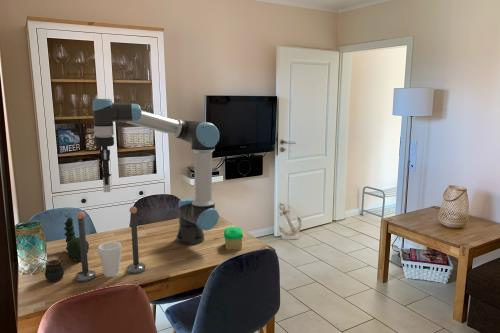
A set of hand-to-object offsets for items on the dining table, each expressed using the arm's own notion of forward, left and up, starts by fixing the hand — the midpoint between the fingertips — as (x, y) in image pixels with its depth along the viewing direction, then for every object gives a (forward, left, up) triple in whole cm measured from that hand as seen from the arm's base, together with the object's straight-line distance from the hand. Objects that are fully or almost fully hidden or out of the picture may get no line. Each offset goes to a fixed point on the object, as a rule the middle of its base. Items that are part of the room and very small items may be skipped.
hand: (107, 191), depth 161 cm
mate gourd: (+22, +7, -37) cm, 44 cm away
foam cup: (0, +1, -37) cm, 37 cm away
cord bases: (0, +1, -37) cm, 37 cm away
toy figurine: (+24, -17, -37) cm, 48 cm away
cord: (-10, -3, -36) cm, 37 cm away
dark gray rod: (+10, +5, -36) cm, 37 cm away
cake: (-52, -31, -37) cm, 71 cm away
